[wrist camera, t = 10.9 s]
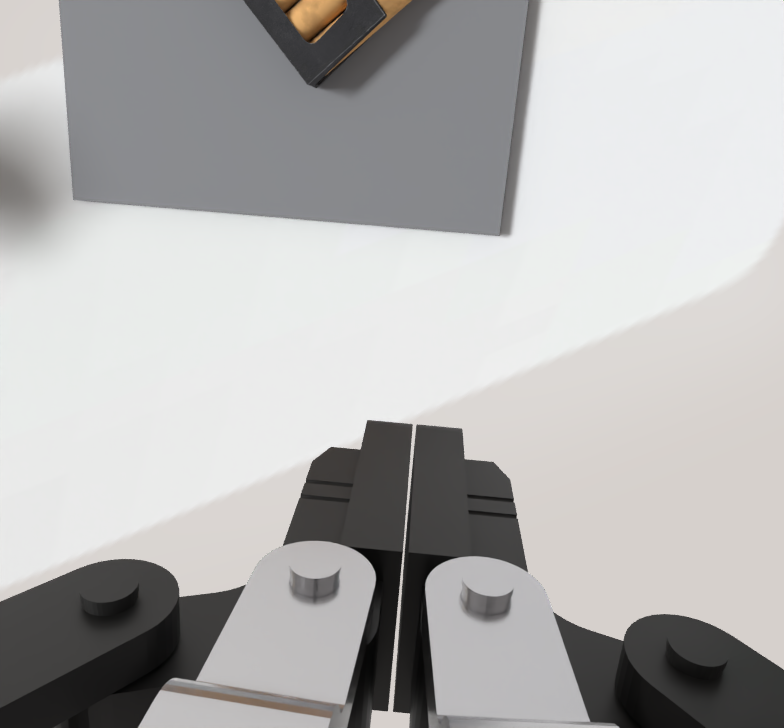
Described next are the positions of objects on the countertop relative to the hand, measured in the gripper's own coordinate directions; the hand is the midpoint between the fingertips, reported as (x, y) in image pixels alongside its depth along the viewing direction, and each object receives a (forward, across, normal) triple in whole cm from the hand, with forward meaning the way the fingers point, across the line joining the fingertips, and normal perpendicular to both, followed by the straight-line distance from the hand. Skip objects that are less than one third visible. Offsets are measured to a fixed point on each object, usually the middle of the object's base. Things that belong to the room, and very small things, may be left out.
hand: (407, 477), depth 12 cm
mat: (+31, +8, -8) cm, 33 cm away
